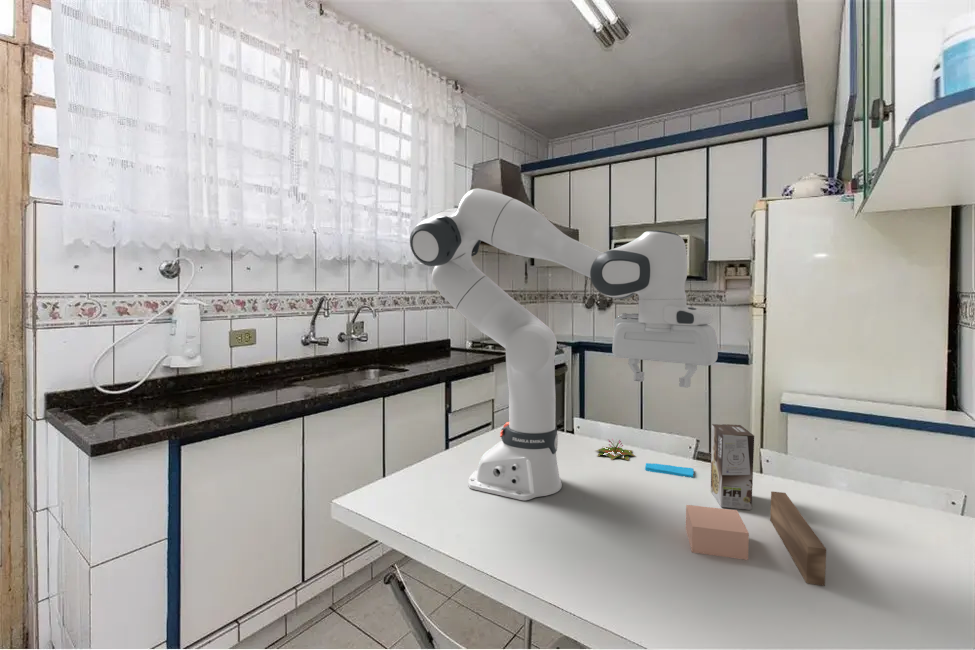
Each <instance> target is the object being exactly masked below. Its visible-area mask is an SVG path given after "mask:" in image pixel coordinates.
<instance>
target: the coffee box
mask: <svg viewBox="0 0 975 650" xmlns="http://www.w3.org/2000/svg"><path fill="white" fill-rule="evenodd" d="M754 452H755V434H752V433H751V432H750V431H748V429H746V428H745V427H743V426H742V424H727V423H726V424H714V423H712V424H711V453H710V455H711V458H710V462H711V463H710V493H711V494H712V495H713V497H714V499H715V500H716V502H717V503H718V505H720V507H721V508H724V509H736V510H737V509H738V510H749V511H750V510H752V507H753V505H752V504H753V480H754V479H753V477H754V456H755V455H754V454H755V453H754Z"/></svg>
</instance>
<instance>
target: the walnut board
mask: <svg viewBox="0 0 975 650" xmlns="http://www.w3.org/2000/svg"><path fill="white" fill-rule="evenodd" d="M770 493H771V494H770V516H769V517H770V518H769V519H770V520H769V521H770V522H771V524H772V526H773V527H774V529H775V531H776V533H777V534H778V536H779V538H780V540H781V541H782V544H783V545H784V548H785V549H786V550H787V552H788V554H789V556H790V557H791V559H792V561H793V562H794V564H795V566H796V568H797V569H798V571H799V573H800V575H801V576H802V578H803V580H804V582H805V583H806V584H808V585H809V584H810V585H817V586H823V587H825V585H826V568H827V567H826V565H827V564H826V563H827V548H826V546H825V544H823V542H822V541H821V540H820V538H819V537H818V536H817V534H816V532H814V530H813V528H812V527H811V526H810V525H809V523H808V522H807V521H806V519H805V518H804V516H803V515H802V514H801V512H800V511H799V509H798V508H797V507H796V505H795V504H794V503H793V501H792V500H791V498H790V497H789V495H788V494H787V493H786V492H782V491H781V492H780V491H773V490H772V491H770Z"/></svg>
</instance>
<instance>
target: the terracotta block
mask: <svg viewBox="0 0 975 650" xmlns="http://www.w3.org/2000/svg"><path fill="white" fill-rule="evenodd" d="M685 531H686V535H687V539H688V542H689V546H690V550H691V553H695V554H700V555H701V554H703V555H710V556H717V557H724V558H732V559H737V560H738V559H740V560H745V561H748V560H749V544H750V543H749V542H750V540H749V539H750V536H749V535H750V533H749V531H748V529H747V527H746V525H745V523H744V521H743V519H742V517H741V516H740V513H739V512H738V510H737V509H731V508H718V507H710V506H709V507H708V506H701V505H692V504H691V505H690V504H686V505H685Z"/></svg>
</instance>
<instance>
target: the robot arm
mask: <svg viewBox="0 0 975 650" xmlns="http://www.w3.org/2000/svg"><path fill="white" fill-rule="evenodd" d="M481 242H484V243H486V244H488V245H490V246H492V247H494V248H497V249H498V250H501V251H504V252H505V253H510V254H512V255H517V256H521V257H526V258H532V259H538V260H545V261H549V262H553V263H555V264H559V265H560V266H563V267H565V268H568V269H570V270H572V271H574V272H576V273H579V274H580V275H583V276H585V277H587V278H589V280H590V281H591V283H592V285H593V287H594V288H595V289H596V291H598V292H599V293H601V294H602V295H603V296H605V297H610V298H612V299H614V300H615V299H617V300H625V299H630V298H631V297H633V296H635V295H636V294H637V295H638V313H626V312H623V313H621V314H620V315H617V317H615V319H614V320H613V330H614V333H613V337H612V338H613V339H612V349H611V350H612V351H611V352H612V354H613V356H614V357H615V358H618V359H621V358H622V359H628V366H629V367H630V369H631V371H632V373H633V381H635V382H640V383H641V382H644V381H645V372H643V371H641V369H640V367H639V364H640V361H641V360H642V361H651V362H652V361H654V362H663V363H664V362H665V363H673V364H674V363H675V364H684V369H685V370H686V371H687V372H686V373H685V375H684V376H681V377H679V381H678V382H679V383H678V386H679V387H680V388H690V387H691V383H692V381H691V380H692V377H693V376H694V374H695V373H696V371H697V370H698V366H705V367H707V366H711V365H713V364H715V363H716V362H717V360H718V358H719V357H718V355H719V353H718V352H719V351H718V350H719V349H718V340H717V334H716V330H715V329H714V327H713V326H712V325H710V324H712V323H713V320H714V317H713V314H712V313H711V312H709V311H707V310H702V309H700V308H696V307H693V306H691V305H688V304H687V293H686V288H685V285H686V281H687V277H688V259H687V248H686V247H687V246H686V243H685V241H684V239H683V238H682V237H681V236H680V235H679V234H677V233H676V232H675V233H674V232H672V231H668V230H657V229H655V230H653V229H652V230H651V229H650V230H647V231H645V232H643V233H642V234H641V235H640V236H638V237H637V238H635V239H632V240H631V241H630V242H628V243H625V244H623V245H621V246H617V247H615V248H612V249H608V250H606V251H604V252H603V251H601V250H598V249H596V248H594V247H592V246H590V245H587V244H585V243H583V242H580V241H579V240H576V239H574V238H572V237H570V236H568V235H567V234H565V233H564V232H562V230H560V229H559V228H558V227H556V226H555V225H554V224H553V223H552V222H551V221H549V219H547V218H546V216H544V215H543V214H542V213H540V212H539V211H538V210H536V209H534V208H533V207H532V206H529V204H526V203H524V202H522V201H520V200H519V199H516V198H513V197H511V196H508V195H506V194H503V193H500V192H496V191H494V190H489V189H484V188H479V187H478V188H473V189H469V190H468V191H467V192H466V193H465V194H464V195H463V197H462V198H461V200H460V202H459V204H458V206H454V207H452V208H448V209H444V210H441V211H439V212H437V213H435V214H434V215H432V216H431V217H427V218H425V219H422V221H420V222H419V223H417V224H416V225H415V226H414V228H413V229H412V231H411V233H410V236H409V246H410V250H411V253H412V254H413V256H414V257H415V259H417V260H418V261H419V262H420V263H421V264H423V265H426V266H429V267H433V270H432V272H431V282H432V284H433V285H434V287H435V288H436V290H437V291H438V292H439V294H440V295H441V296H442V298H444V299H445V300H446V302H448V303H449V304H450V305H451V307H453V308H454V309H455V310H456V311H457V312H458V313H459V314H461V316H463V317H464V318H465V319H466V320H467V321H468V322H469V323H470V324H471V325H473V326H474V327H475V328H476V329H477V330H478V331H479V332H480V333H482V334H483V335H486V336H487V337H489V338H490V339H492V340H493V341H495V342H496V343H497V344H499V345H500V346H502V347H503V348H504V349H505V364H506V365H505V367H506V376H507V379H506V380H507V386H508V387H507V388H508V405H509V406H508V420H509V421H507V422H505V424H503V427H502V428H501V430H500V432H499V437H500V438H501V440H500V441H498V442H497V443H496V444H495V445H493V446H492V447H490V448H489V449H488V450H487V451H485V452H484V453H483V455H481V457H480V459H479V463H478V465H477V469H475V470H474V471H473V472H472V473H471V474H470V476H469V478H468V482H467V485H468V488H469V489H471V490H476V491H480V492H484V493H489V494H492V495H498V496H502V497H506V498H511V499H514V500H520V501H529V500H532V499H534V498H539V497H545V496H550V495H553V494H556V493H558V492H559V491H561V489H562V487H563V483H562V481H561V477H560V472H559V465H558V459H557V457H558V456H557V451H558V444H559V443H558V442H559V441H558V440H559V438H558V437H559V436H558V435H559V434H558V427H557V426H556V402H557V401H556V397H557V396H556V377H555V376H556V373H555V372H556V369H555V368H556V367H555V365H556V364H555V354H556V351H557V345H558V343H557V341H558V340H557V338H556V334H555V333H554V331H553V330H552V329H551V328H550V327H549V326H548V325H547V324H545V323H544V322H543V321H542V320H541V319H539V318H538V317H537V316H536V315H534V314H533V313H532V312H531V311H529V310H528V309H527V308H526V307H524V306H523V305H522V304H520V303H519V302H518V301H517V300H516V299H514V298H513V297H511V296H510V295H509V293H507V292H506V291H505V290H504V289H502V287H500V286H499V285H498V284H497V283H496V282H495V281H494V280H492V279H491V278H490V277H489V276H488V275H486V274H485V272H483V271H482V270H480V269H479V268H478V266H476V264H475V263H474V261H473V258H472V257H474V256H476V255H478V253H479V250H480V249H479V248H480V245H481Z"/></svg>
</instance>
